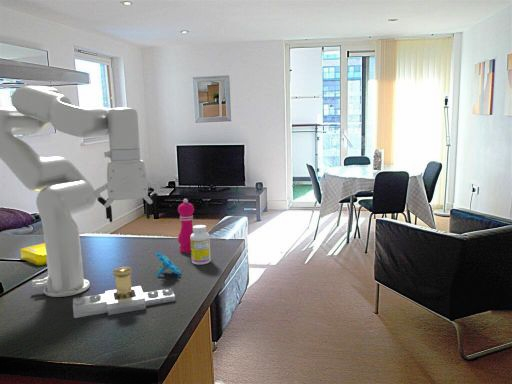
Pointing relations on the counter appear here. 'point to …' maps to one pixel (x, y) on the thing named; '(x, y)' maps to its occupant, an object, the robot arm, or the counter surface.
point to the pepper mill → (185, 225)
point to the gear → (166, 264)
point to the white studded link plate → (119, 302)
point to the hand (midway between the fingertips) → (129, 219)
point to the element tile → (35, 254)
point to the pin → (123, 282)
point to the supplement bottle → (200, 245)
